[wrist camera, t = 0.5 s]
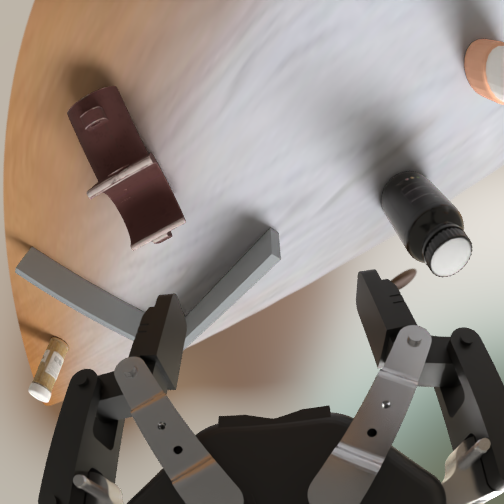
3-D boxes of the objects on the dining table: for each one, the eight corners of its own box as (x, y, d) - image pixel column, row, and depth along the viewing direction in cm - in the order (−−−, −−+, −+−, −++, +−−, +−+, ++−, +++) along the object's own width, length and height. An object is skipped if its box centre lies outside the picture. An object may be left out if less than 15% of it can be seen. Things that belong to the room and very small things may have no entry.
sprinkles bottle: (47, 334, 53) (23, 388, 42) (65, 338, 53) (42, 394, 43) (55, 347, 56) (34, 399, 45) (72, 351, 56) (52, 405, 45)
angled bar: (77, 106, 28) (52, 118, 24) (278, 232, 37) (280, 259, 33) (30, 251, 40) (15, 272, 36) (178, 334, 50) (173, 359, 46)
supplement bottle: (430, 213, 35) (474, 277, 26) (381, 224, 36) (416, 294, 27) (429, 164, 31) (485, 219, 22) (377, 174, 32) (420, 236, 23)
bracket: (143, 248, 36) (136, 281, 27) (79, 121, 30) (48, 111, 20) (189, 224, 36) (196, 248, 27) (126, 94, 30) (110, 73, 21)
